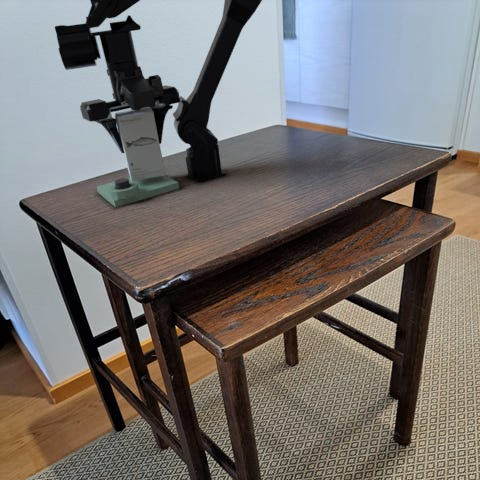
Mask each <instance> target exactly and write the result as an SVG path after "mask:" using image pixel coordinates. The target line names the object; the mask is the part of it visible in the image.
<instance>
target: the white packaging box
mask: <svg viewBox="0 0 480 480" xmlns="http://www.w3.org/2000/svg"><path fill="white" fill-rule="evenodd" d="M113 115H114V118H115V119H116V125H117V129H118V132H119V135H120V138H121V141H122V145H123V149H124V153H123V156H124V160H125V163H126V168H127V172H128V176H129V178H131V180H132V182H134V181H137V180H142V179H147V178H153V177H158V176H165V175H166V170H165V164H164V159H163V154H162V149H161V144H159V139H158V134H157V128H156V123H155V118H154V113H153V111H152V110H151V108H150V107H146V108H141V109H140V110H132V109H131V108H129V109H124V110H119V111H115V112H113ZM166 176H167V175H166Z"/></svg>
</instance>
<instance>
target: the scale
mask: <svg viewBox="0 0 480 480" xmlns="http://www.w3.org/2000/svg"><path fill="white" fill-rule="evenodd" d="M126 178H127V179H129V183H130V187H129V188H126V189H120V190H118V189H116V186H115V181H112V182H108V183H105V184H100V185H97V186H96V189H97V193H98V194H99V195H100V196H102V197H103V198H104V199H105V200H106V201H107V202H108V203H110V204H111V205H112V206H113V207H115V208H118V207H122V206H126V205H128V204H132V203H136V202H139V201H143V200H145V199H148V198H149V199H150V198H153V197H156V196H159V195H163V194H167V193H169V192H172V191H176V190H179V189H180V184H179V181H177V180H175V179H173V178H171V177H169V176H167V175H165V176H158V177H153V178H147V179H142V180H137V181H134V182H132V180H131V178H130V177H126Z"/></svg>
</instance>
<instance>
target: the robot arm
mask: <svg viewBox="0 0 480 480" xmlns="http://www.w3.org/2000/svg"><path fill="white" fill-rule="evenodd" d="M89 1H90V6H91V7H90V9H89V12H88V15H87V16H85V19H86V21H85V23H78V24H71V25H66V24H65V25H64V24H60V25H55V26H54V31H55V34H56V40H57V44H58V53H59V55H60V60H61V62H62V64H63V67H64V69H65V71H68V70H75V69H83V68H90V67H96V66H97V64H98V63H97V60H100V59H102V55H101V51H100V47H99V43H98V39H97V36H98V37H99V40H100V44H101V49H102V52H103V57H104V60H105V64H106V75H107V77H109V80H110V81H109V82H110V84H111V89H112V93H111V94H112V98H113V100H111V101H106V100H103V99H100V98H97V99H92V100H87V101H82V102H81V104H80V106H79V107H80V112H81V116H82V119H84V120H85V121H87V122H94V123H97V124H99V125H102V127H103V128H104V130H105V131H106V132H107V133H108V135H109V136H110V138H111V139H112V141H113V142H114V144H115V145H116V147H117V148H118V150H119V151H120V153H121V154H124V149H123V145H122V141H121V138H120V135H119V132H118V128H117V123H116V119H115V117H113V116H112V113H114V112H116V111H122V110H128V109H132V110H140V109H141V108H146V107H150V108H151V110H152V111H153V113H154V118H155V123H156V128H157V134H158V139H159V144H160V145H161V144H162V141H163V133H164V124H165V120H166V116H167V114H168V112H169V111H170V110H172V109H173V107H174V106H173V105H175V104H177V108H176V110H175V111H174V112H173V113H172V117H173V118H174V121H173V127H174V130H175V132H176V134H177V136H178V137H179V139H180V140H181V141H182V142H183V143H184V144H187V145H189V147H188V148H185V149H186V150H185V151H186V156H185V163H186V170H187V174H186V175H187V177H188V178H190V179H192V180H194V181H196V182H198V183H203V182H207V181H209V180H214V179H216V178H220V177H223V176H226V172H225V171H224V170H222V165H221V164H222V163H221V154H220V148H219V144H218V143H219V139H218V138H217V136H216V135H215V134H214V133H213V132H212V131H211V130H210V129H209V128H208V124H209V120H210V119H209V118H210V114H211V105H212V102H213V99H214V96H215V94H216V92H217V90H218V88H219V85H220V83H221V80H222V77H223V76H224V74H225V71H226V69H227V66H228V63H229V61H230V60H231V59H230V58H231V56H232V54H233V51H234V49H235V47H236V44H237V42H238V40H239V37H240V36H241V33H242V30H243V28H244V27H245V26H246V24H247V23H248V22H249V20H250V19H251V18H252V16H253V15H254V14H255V12H256V11H257V9H258V7H259V6H260V4H261V3H262V1H263V0H224V3H223V11H222V17H221V20H220V23H219V25H218V27H217V30H216V32H215V35H214V37H213V39H212V42H211V45H210V47H209V50H208V52H207V55H206V57H205V60H204V62H203V65H202V67H201V70H200V73H199V74H198V77H197V79H196V82H195V84H194V87H193V90H192V91H191V93H190V94H189V95H188V96H187V98H185V97H183V96H180V91H179V90H178V89H177V88H176V87H175V86H172V85H163V82H162V77H161V76H160V75H159V74H155V75H154V74H153V75H149V76H148V78H145V76H144V73H143V70H142V67H141V66H139V62H138V59H137V54H136V49H135V44H134V40H133V35H132V32H134V31H139V30H141V28H142V26H141V25H140V24H138V23H137V21H135V20H134V19H133V18H132V16H131V15H127V17H126V19H125V20H121V21H113V22H109V27H110V29H107V30H102V31H93V32H92V29H94V28H99V27H100V26H101V25H102V24H103V23H104V22H105V21H106V19H114V18H117V17H118V16H120V15H122V14H123V13H124V12H126V11H128V10H129V9H130V8H131V7H133V6H134V5H136V4H137V3H139V2H140V1H141V0H89Z"/></svg>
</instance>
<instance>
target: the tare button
mask: <svg viewBox="0 0 480 480" xmlns="http://www.w3.org/2000/svg"><path fill="white" fill-rule="evenodd" d="M127 178H128V177H124V178H123V177H122V178H118V179H116V180H115V181H114V182H115V186H116V189H118V190H120V189H126V188H129V187H130V183H129V179H127Z"/></svg>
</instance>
